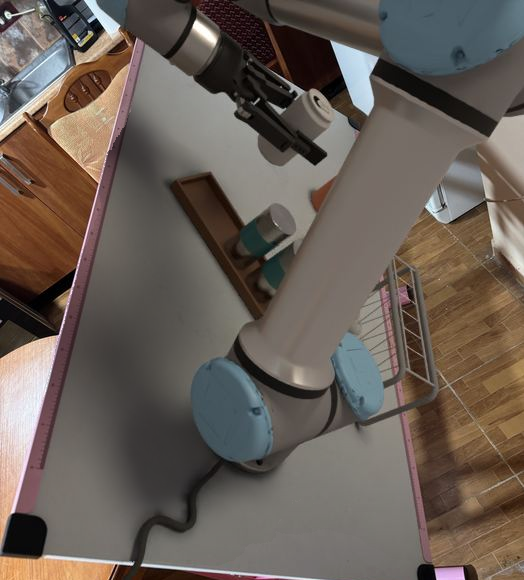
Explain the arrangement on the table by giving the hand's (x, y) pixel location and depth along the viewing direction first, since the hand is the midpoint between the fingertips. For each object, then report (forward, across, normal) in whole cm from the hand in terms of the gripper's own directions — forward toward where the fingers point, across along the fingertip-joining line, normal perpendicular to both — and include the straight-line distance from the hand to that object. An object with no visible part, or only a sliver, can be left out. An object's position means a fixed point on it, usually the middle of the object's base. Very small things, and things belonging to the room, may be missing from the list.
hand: (319, 144), depth 91 cm
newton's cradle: (+26, +20, -22) cm, 39 cm away
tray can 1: (0, +9, -21) cm, 23 cm away
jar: (+26, -20, -22) cm, 39 cm away
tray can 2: (+5, +14, -21) cm, 26 cm away
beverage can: (-5, 0, -7) cm, 8 cm away
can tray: (-1, +8, -22) cm, 23 cm away
